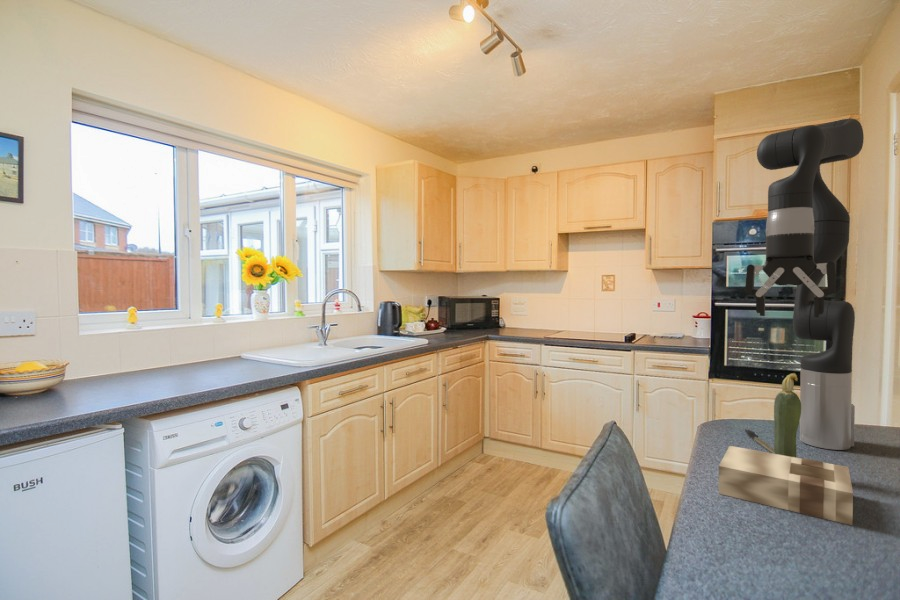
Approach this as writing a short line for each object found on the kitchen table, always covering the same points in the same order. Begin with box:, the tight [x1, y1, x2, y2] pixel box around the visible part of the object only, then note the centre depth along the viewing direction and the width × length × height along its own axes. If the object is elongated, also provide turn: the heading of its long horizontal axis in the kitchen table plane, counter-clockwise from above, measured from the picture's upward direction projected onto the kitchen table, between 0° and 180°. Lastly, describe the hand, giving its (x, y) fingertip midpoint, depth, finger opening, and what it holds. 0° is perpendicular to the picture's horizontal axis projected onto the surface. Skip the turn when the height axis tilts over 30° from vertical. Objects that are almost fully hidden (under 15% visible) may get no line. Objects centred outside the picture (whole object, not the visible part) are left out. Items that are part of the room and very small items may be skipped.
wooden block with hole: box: [718, 445, 854, 526], centre depth 82 cm, size 18×13×5 cm
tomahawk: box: [744, 429, 775, 454], centre depth 105 cm, size 21×7×1 cm, turn 166°
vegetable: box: [773, 372, 801, 458], centre depth 91 cm, size 4×4×20 cm
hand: (788, 316), depth 90 cm, fingers open, 8 cm apart
